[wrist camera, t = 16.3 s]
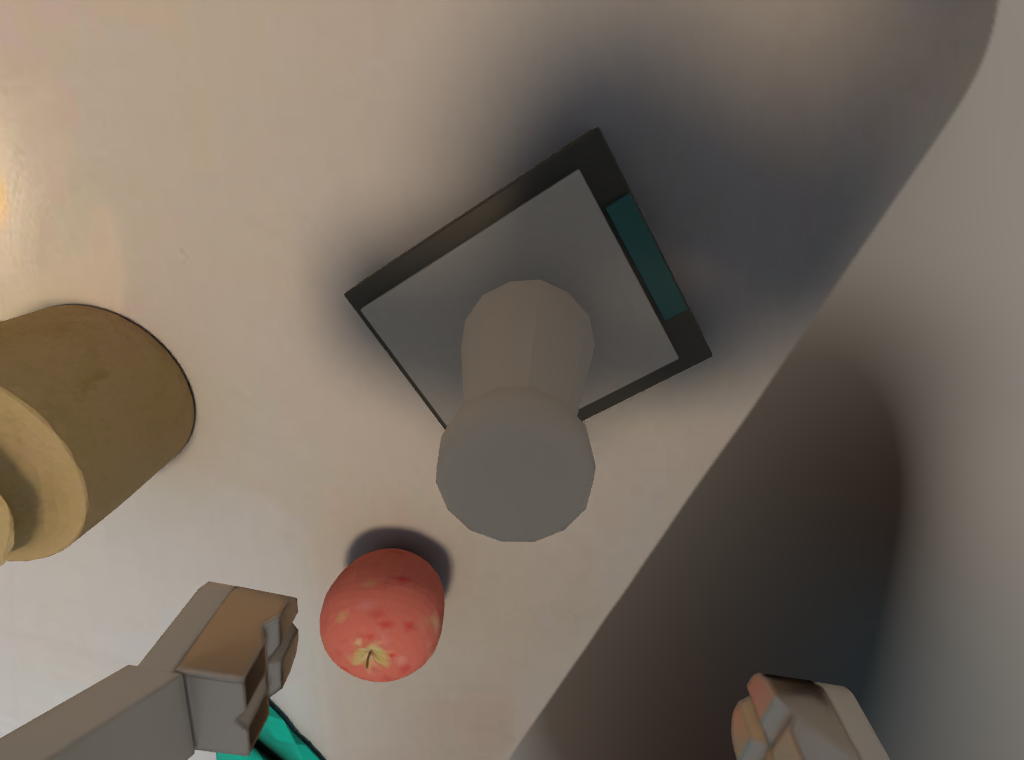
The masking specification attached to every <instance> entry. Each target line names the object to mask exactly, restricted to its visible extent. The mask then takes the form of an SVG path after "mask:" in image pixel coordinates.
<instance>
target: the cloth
mask: <svg viewBox="0 0 1024 760" xmlns="http://www.w3.org/2000/svg"><path fill="white" fill-rule="evenodd" d="M269 713H270V714H269V717H268V719H267V721H266V723H265V725H264V727H263V729H262V731H261V733H260V735H259V737H258V739H257V741H256V743H255V745H254V747H253V749H252V751H251V753H250V755H249V756H241V755H233V754H225V753H218V752H216V758H217V760H320V758H319V757H318V756H317V755H316V754H315V753H314V752H313V751H312V750H311V749H310V748H309V747H308V746H307V745H306V744H305V743H304V742H303V741H302V740H301V739H300V738H299V737H298V736H297V735H296V734H295V733H294V732H293V731H292V730H291V729H290V728H289V726H288V725H287V724H286V723H285V721H284V720H283V719H282V718H281V717H280V716H279V715H278V714H277V713H276V712H275V711H274V710H273V709H272V708H271V707H270V706H269Z"/></svg>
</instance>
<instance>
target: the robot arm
mask: <svg viewBox="0 0 1024 760" xmlns="http://www.w3.org/2000/svg"><path fill="white" fill-rule="evenodd" d="M297 613H298V605H297V598H294V597H290V596H285V595H280V594H275V593H269V592H264V591H259V590H254V589H249V588H244V587H238V586H232V585H227V584H221V583H215V582H210V581H209V582H208V583H206V584H205V585H203V586H202V587H201V588H199V589H198V590H197V592H196V593H195V594H194V596H193V597H192V598H191V599H190V601H189V602H188V603H187V604H186V606H185V607H184V608H183V609H182V611H181V612H180V613H179V615H178V616H177V617H176V618H175V620H174V621H173V622H172V623H171V625H170V626H169V627H168V628H167V630H166V631H165V632H164V634H163V635H162V636H161V637H160V639H159V640H158V641H157V642H156V644H155V645H154V646H153V647H152V649H151V650H150V651H149V653H148V654H147V655H146V656H145V658H144V659H143V660H142V661H141V663H140V664H139V665H138V666H133V665H127V666H126V667H124V668H122V669H120V670H119V671H117V672H115V673H113V674H112V675H110V676H108V677H106V678H105V679H103V680H101V681H100V682H98V683H96V684H94V685H93V686H91V687H89V688H87V689H86V690H84V691H82V692H80V693H79V694H77V695H75V696H73V697H72V698H70V699H68V700H66V701H65V702H63V703H61V704H59V705H58V706H56V707H54V708H52V709H51V710H49V711H47V712H45V713H44V714H42V715H40V716H38V717H37V718H35V719H33V720H31V721H30V722H28V723H26V724H25V725H23V726H21V727H19V728H18V729H16V730H14V731H12V732H11V733H9V734H7V735H5V736H4V737H2V738H0V760H187V759H189V758H190V757H191V756H192V755H193V754H194V750H202V751H210V752H218V753H225V754H233V755H241V756H249V755H250V753H251V751H252V749H253V747H254V745H255V743H256V741H257V739H258V737H259V735H260V733H261V731H262V729H263V727H264V725H265V723H266V721H267V719H268V717H269V714H270V713H269V698H270V697H271V696H272V695H274V694H275V693H276V692H278V691H279V690H280V689H282V688H283V686H284V683H285V681H286V679H287V677H288V675H289V673H290V670H291V667H292V664H293V661H294V658H295V655H296V651H297V644H298V629H297V628H296V627H295V625H294V624H293V623H292V622H293V620H294V618H295V616H296V614H297ZM747 687H748V690H749V693H750V696H749V697H747V698H745V699H744V700H741V701H739V702H738V704H737V706H736V708H735V711H734V712H733V715H732V727H731V733H732V740H733V747H734V750H735V754H736V757H737V760H890V759H889V757H888V755H887V754H886V752H885V750H884V748H883V747H882V745H881V743H880V741H879V739H878V738H877V736H876V734H875V732H874V731H873V729H872V727H871V725H870V724H869V722H868V720H867V718H866V716H865V715H864V713H863V711H862V709H861V708H860V706H859V704H858V702H857V701H856V699H855V697H854V696H853V694H852V693H851V692H850V691H849V690H848V689H847V688H846V687H842V686H837V685H830V684H824V683H818V682H812V681H810V680H803V679H797V678H790V677H783V676H776V675H770V674H762V673H758V674H756V675H754V676H752V677H751V679H750V681H749V683H748V685H747Z"/></svg>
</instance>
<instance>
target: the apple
mask: <svg viewBox="0 0 1024 760" xmlns="http://www.w3.org/2000/svg"><path fill="white" fill-rule="evenodd" d="M443 616H444V589H443V585H442V583H441V581H440V578H439V576H438V574H437V573H436V572H435V570H434V569H433V568H432V567H431V566H430V564H429V563H428V562H427V561H425V560H424V559H422V558H421V557H420V556H418V555H416V554H414V553H412V552H410V551H406V550H403V549H394V548H390V549H378V550H375V551H372V552H370V553H367V554H365V555H362V556H360V557H359V558H357V559H356V560H355V561H353V562H352V563H351V564H350V565H349V566H348V567H347V568H345V569H344V570H343V572H342V573H341V574H340V575H339V576H338V578H337V579H336V580H335V581H334V583H333V584H332V586H331V587H330V589H329V591H328V592H327V594H326V597H325V599H324V603H323V607H322V611H321V615H320V635H321V638H322V642H323V645H324V648H325V650H326V652H327V653H328V655H329V656H330V658H331V659H332V660H333V662H335V663H336V664H337V665H338V666H339V667H340V668H341V669H343V670H344V671H346V672H348V673H349V674H351V675H353V676H355V677H358V678H360V679H363V680H368V681H373V682H387V681H394V680H398V679H400V678H403V677H406V676H408V675H410V674H411V673H413V672H415V671H416V670H418V669H419V668H421V667H422V666H423V665H424V664H425V663H426V662H427V660H428V659H429V658H430V657H431V656H432V654H433V653H434V651H435V649H436V646H437V644H438V641H439V638H440V635H441V630H442V624H443Z"/></svg>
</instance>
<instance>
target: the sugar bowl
mask: <svg viewBox="0 0 1024 760" xmlns="http://www.w3.org/2000/svg"><path fill="white" fill-rule="evenodd" d="M193 423H194V406H193V399H192V395H191V392H190V389H189V386H188V384H187V381H186V379H185V377H184V375H183V373H182V372H181V370H180V368H179V367H178V365H177V364H176V362H175V361H174V360H173V358H172V357H171V356H170V354H169V353H168V352H167V351H166V350H165V348H164V347H163V346H161V345H160V344H159V343H158V342H157V341H156V340H155V339H154V338H153V337H151V336H150V335H149V334H148V333H147V332H145V331H144V330H143V329H141V328H140V327H139V326H137V325H135V324H133V323H131V322H129V321H127V320H126V319H124V318H122V317H120V316H119V315H116V314H113V313H111V312H108V311H105V310H102V309H98V308H94V307H88V306H80V305H60V306H54V307H49V308H46V309H42V310H39V311H36V312H32V313H29V314H26V315H22V316H19V317H16V318H12V319H9V320H6V321H2V322H0V566H1V565H2V564H4V563H5V562H6V561H30V560H35V559H40V558H45V557H48V556H51V555H54V554H56V553H58V552H60V551H62V550H64V549H65V548H67V547H68V546H70V545H71V544H72V543H73V542H75V541H76V540H77V539H78V538H80V537H81V536H82V535H83V534H85V533H86V532H87V531H89V530H90V529H91V528H92V527H94V526H95V525H96V524H97V523H99V522H100V521H101V520H102V519H104V518H105V517H106V516H107V515H108V514H110V513H111V512H112V511H113V510H115V509H116V508H117V507H118V506H119V505H121V504H122V503H123V502H124V501H125V500H126V499H128V498H129V497H130V496H131V495H132V494H133V493H135V492H136V491H137V490H138V489H139V488H140V487H141V486H142V485H144V484H145V483H146V482H147V481H148V480H149V479H150V478H151V477H153V476H154V475H155V474H156V473H157V472H158V471H159V470H160V469H161V468H162V467H164V466H165V465H166V464H167V463H168V462H169V461H170V460H171V459H173V458H174V457H175V456H176V455H177V454H178V453H179V452H180V451H181V450H182V449H183V447H184V446H185V445H186V443H187V441H188V439H189V437H190V434H191V431H192V427H193Z"/></svg>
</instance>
